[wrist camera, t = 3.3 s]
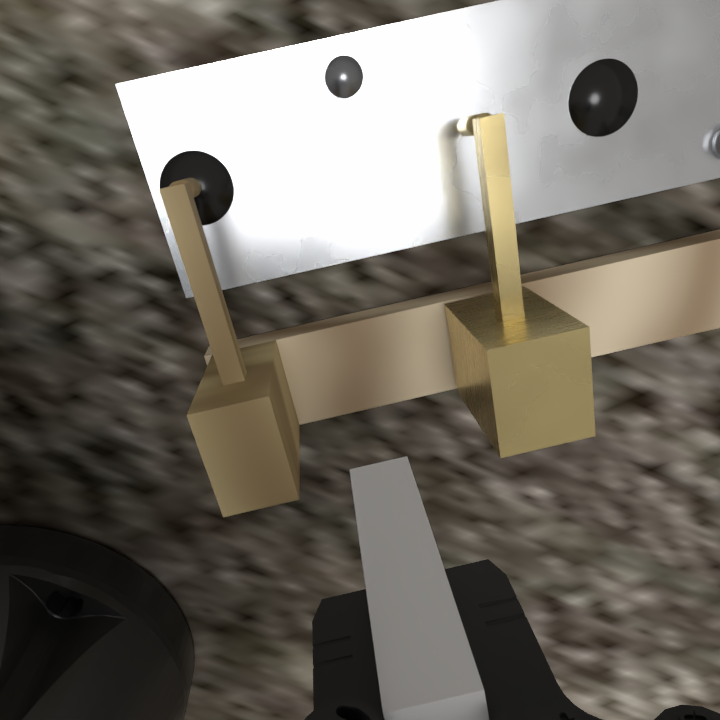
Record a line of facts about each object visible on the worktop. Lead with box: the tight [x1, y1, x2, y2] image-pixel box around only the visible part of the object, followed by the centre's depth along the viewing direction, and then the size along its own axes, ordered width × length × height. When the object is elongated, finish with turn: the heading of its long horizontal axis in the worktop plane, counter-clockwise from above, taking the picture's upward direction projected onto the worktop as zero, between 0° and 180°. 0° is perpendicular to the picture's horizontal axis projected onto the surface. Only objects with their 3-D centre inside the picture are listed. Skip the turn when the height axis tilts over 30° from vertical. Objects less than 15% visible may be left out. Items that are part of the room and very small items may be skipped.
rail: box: [159, 178, 720, 517], centre depth 19 cm, size 22×10×6 cm, turn 102°
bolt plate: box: [115, 0, 720, 298], centre depth 19 cm, size 22×7×1 cm, turn 102°
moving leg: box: [444, 113, 595, 458], centre depth 18 cm, size 3×10×5 cm, turn 12°
